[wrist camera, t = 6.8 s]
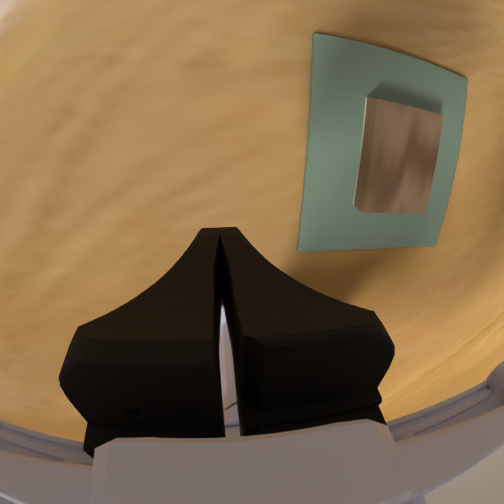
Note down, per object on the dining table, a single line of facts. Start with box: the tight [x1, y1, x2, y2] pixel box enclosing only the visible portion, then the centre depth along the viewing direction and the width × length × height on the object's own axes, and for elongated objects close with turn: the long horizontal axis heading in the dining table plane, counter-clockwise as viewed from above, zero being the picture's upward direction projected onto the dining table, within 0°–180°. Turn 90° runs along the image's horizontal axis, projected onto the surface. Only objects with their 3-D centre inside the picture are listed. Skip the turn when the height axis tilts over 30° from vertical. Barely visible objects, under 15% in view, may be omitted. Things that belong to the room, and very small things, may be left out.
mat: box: [297, 33, 468, 252], centre depth 19 cm, size 16×14×1 cm
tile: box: [353, 97, 443, 214], centre depth 19 cm, size 8×2×6 cm
